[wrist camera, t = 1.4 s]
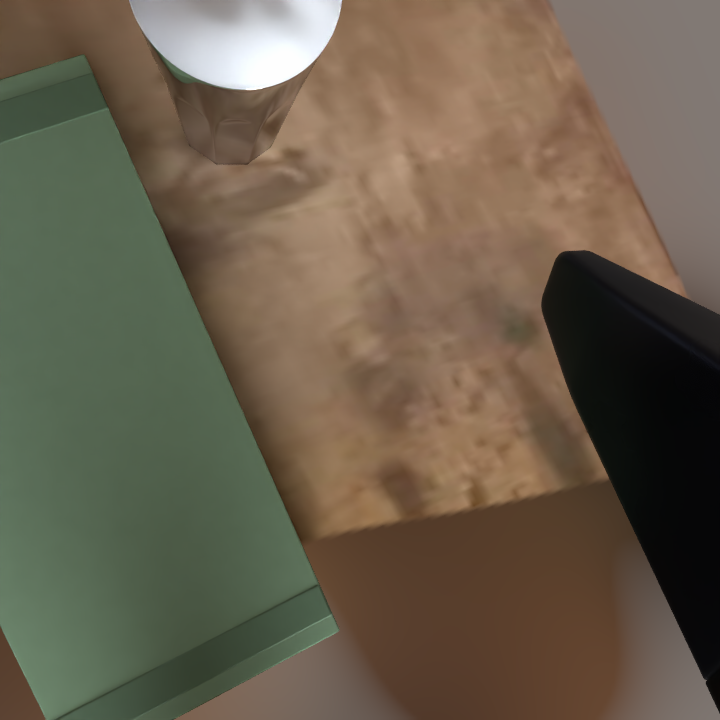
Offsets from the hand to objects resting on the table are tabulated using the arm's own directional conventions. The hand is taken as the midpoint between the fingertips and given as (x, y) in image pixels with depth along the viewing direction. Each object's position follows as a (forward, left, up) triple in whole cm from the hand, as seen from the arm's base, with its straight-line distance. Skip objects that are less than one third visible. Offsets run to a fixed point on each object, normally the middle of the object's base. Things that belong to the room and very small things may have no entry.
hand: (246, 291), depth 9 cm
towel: (0, +5, -13) cm, 14 cm away
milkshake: (+7, -3, -14) cm, 16 cm away
